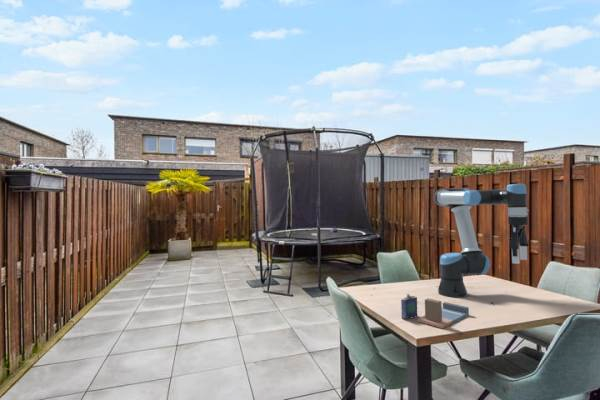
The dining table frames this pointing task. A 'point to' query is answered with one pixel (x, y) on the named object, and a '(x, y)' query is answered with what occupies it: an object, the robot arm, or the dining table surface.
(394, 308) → the dining table surface
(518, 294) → the dining table surface
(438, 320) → the upright panel on base
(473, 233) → the robot arm
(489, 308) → the dining table surface
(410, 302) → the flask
